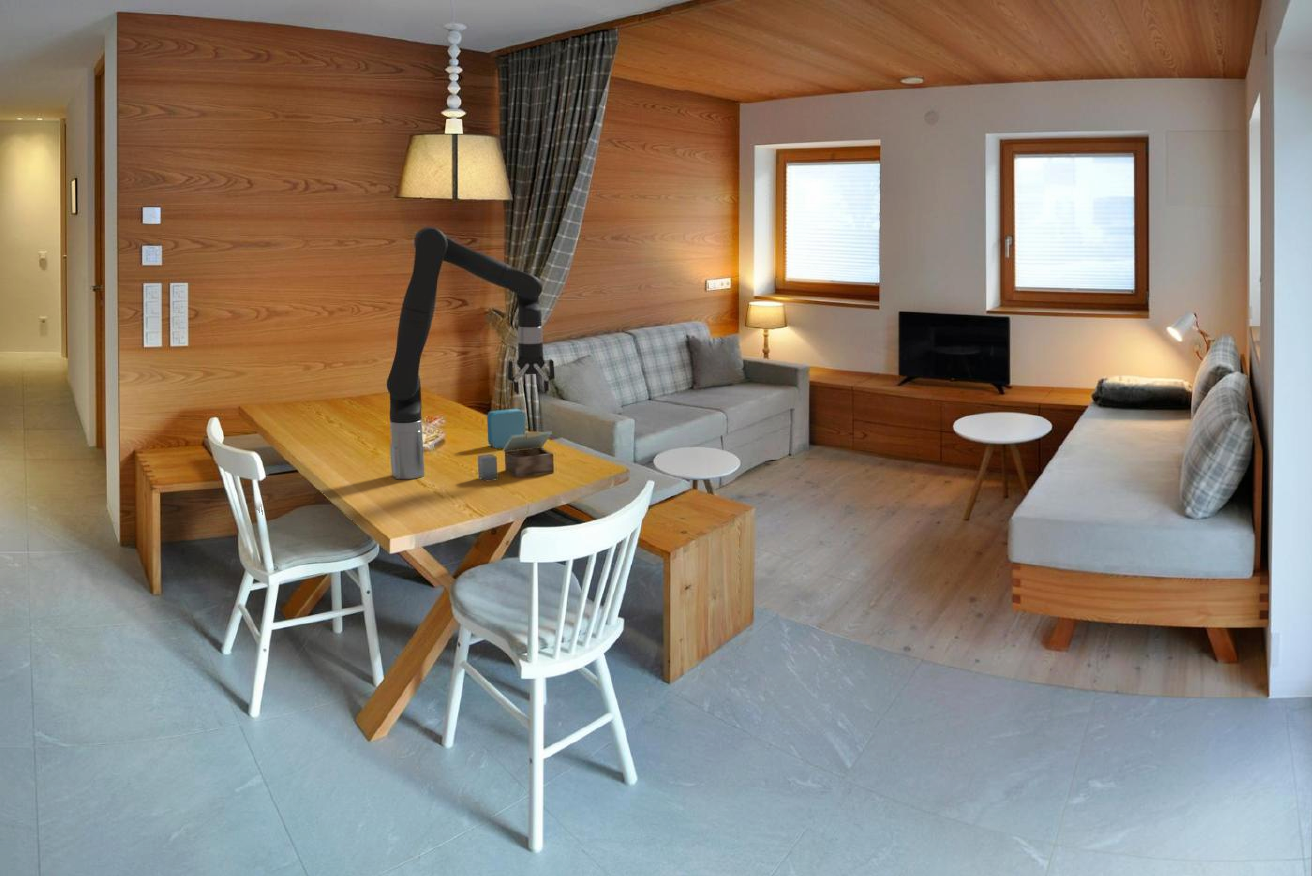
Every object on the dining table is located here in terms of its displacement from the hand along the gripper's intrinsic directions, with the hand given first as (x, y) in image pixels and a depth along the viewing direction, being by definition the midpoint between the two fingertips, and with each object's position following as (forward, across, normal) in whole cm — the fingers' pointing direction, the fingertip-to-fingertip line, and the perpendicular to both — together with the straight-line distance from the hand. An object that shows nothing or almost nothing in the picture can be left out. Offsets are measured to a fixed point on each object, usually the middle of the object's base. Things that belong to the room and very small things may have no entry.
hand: (531, 393), depth 323 cm
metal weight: (+24, -14, -10) cm, 30 cm away
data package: (+24, -6, +32) cm, 41 cm away
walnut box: (+24, -2, -5) cm, 24 cm away
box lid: (+15, -2, -5) cm, 16 cm away
